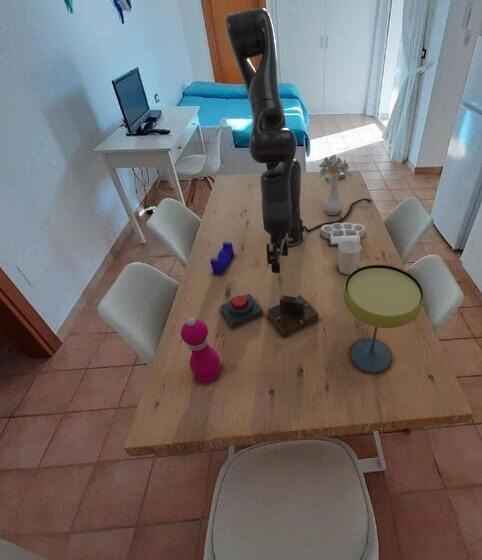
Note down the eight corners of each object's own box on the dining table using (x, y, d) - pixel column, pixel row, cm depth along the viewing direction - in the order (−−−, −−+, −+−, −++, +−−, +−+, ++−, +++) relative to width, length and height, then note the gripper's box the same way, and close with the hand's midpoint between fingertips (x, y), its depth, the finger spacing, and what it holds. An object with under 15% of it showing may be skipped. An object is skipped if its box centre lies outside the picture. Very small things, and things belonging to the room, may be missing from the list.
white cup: (361, 265, 122) (364, 243, 115) (354, 278, 116) (356, 255, 110) (341, 260, 124) (343, 237, 118) (333, 272, 119) (334, 249, 112)
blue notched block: (223, 254, 127) (220, 241, 123) (234, 255, 126) (231, 242, 122) (209, 273, 118) (206, 259, 114) (221, 275, 117) (218, 261, 113)
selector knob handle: (304, 310, 100) (304, 297, 96) (303, 315, 98) (302, 303, 94) (282, 307, 101) (281, 294, 97) (280, 312, 99) (279, 300, 95)
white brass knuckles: (322, 247, 131) (320, 228, 142) (367, 246, 132) (361, 227, 143) (323, 240, 129) (320, 221, 140) (368, 239, 129) (362, 220, 141)
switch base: (299, 300, 107) (299, 293, 105) (319, 321, 100) (319, 314, 98) (267, 315, 102) (266, 308, 100) (285, 338, 95) (284, 331, 93)
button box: (250, 298, 108) (248, 289, 105) (262, 314, 102) (261, 305, 100) (221, 310, 104) (219, 301, 101) (232, 328, 98) (230, 319, 95)
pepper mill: (196, 361, 89) (177, 309, 76) (223, 359, 89) (209, 307, 76) (191, 385, 83) (169, 333, 70) (220, 383, 84) (204, 331, 71)
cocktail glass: (358, 395, 81) (370, 327, 65) (327, 342, 94) (330, 274, 78) (417, 370, 87) (442, 302, 71) (381, 323, 100) (394, 257, 84)
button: (243, 297, 103) (243, 293, 102) (250, 305, 100) (249, 301, 99) (230, 303, 101) (229, 298, 100) (236, 311, 98) (235, 307, 97)
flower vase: (340, 201, 161) (343, 149, 145) (350, 220, 147) (355, 164, 131) (314, 203, 159) (314, 151, 143) (322, 222, 145) (323, 167, 129)
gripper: (283, 227, 78) (286, 280, 88) (297, 201, 89) (298, 251, 99) (253, 224, 79) (259, 276, 90) (271, 199, 90) (274, 248, 100)
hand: (280, 263), depth 94 cm, fingers open, 8 cm apart
